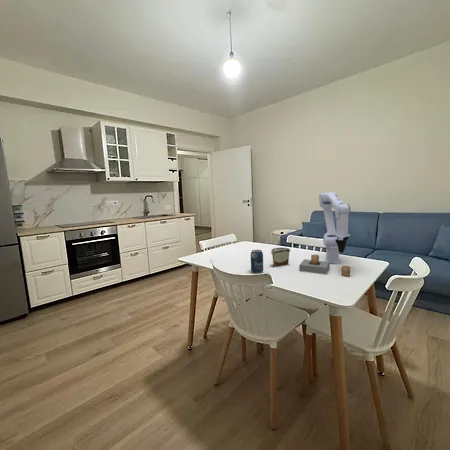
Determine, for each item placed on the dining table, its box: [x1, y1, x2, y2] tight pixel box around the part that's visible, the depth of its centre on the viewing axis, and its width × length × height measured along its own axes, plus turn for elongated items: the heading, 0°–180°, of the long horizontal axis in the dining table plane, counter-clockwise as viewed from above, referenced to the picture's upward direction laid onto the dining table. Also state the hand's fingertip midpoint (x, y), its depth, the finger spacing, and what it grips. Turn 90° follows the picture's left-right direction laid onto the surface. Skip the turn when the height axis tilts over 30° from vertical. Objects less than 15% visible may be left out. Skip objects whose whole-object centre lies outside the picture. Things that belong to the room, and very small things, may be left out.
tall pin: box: [310, 254, 320, 265], centre depth 137 cm, size 4×4×8 cm
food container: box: [270, 247, 291, 268], centre depth 149 cm, size 12×6×10 cm, turn 111°
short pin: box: [340, 265, 351, 278], centre depth 126 cm, size 4×4×4 cm
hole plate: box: [298, 259, 331, 275], centre depth 138 cm, size 12×14×4 cm
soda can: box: [250, 249, 264, 274], centre depth 138 cm, size 7×7×12 cm
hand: (341, 251), depth 135 cm, fingers open, 7 cm apart
